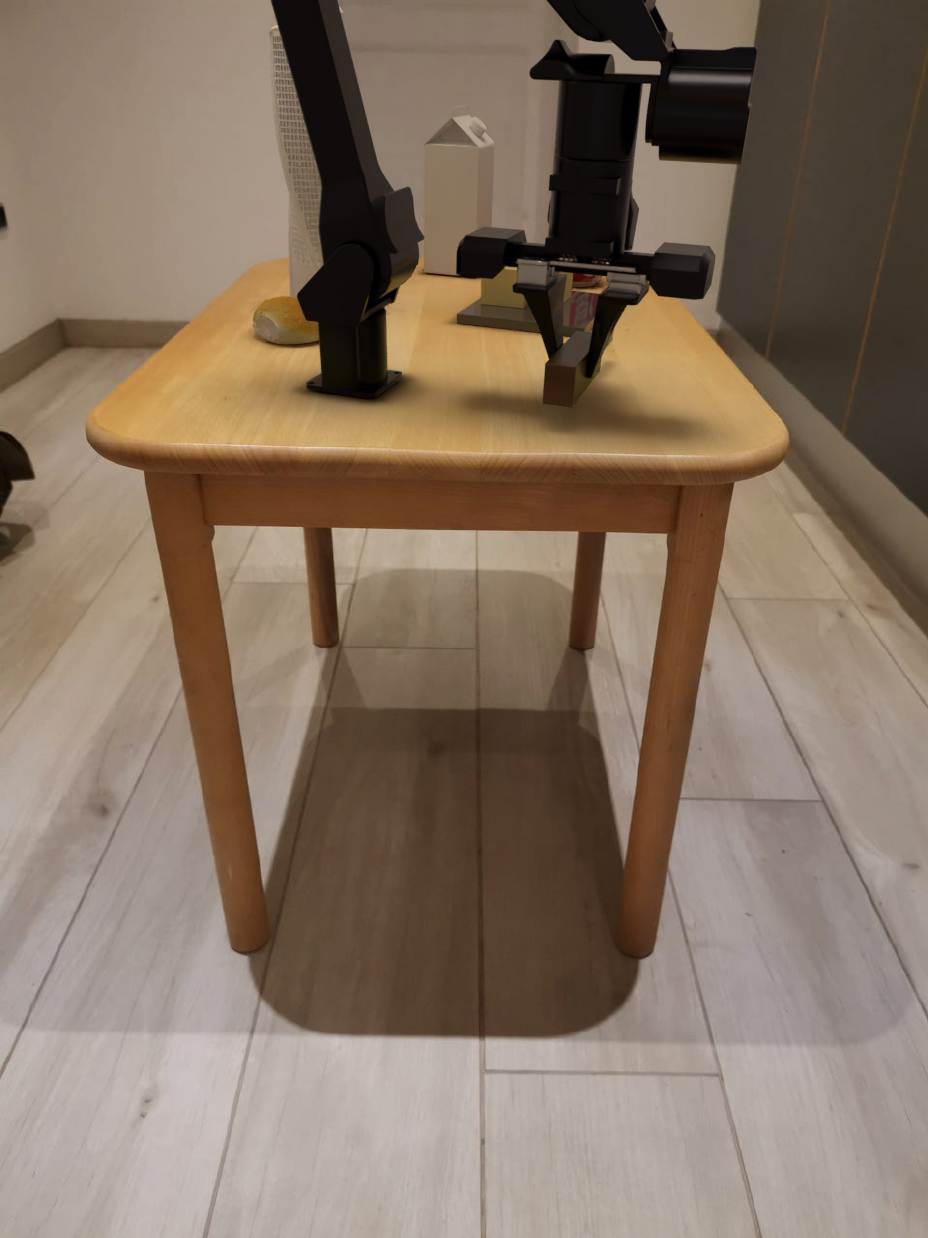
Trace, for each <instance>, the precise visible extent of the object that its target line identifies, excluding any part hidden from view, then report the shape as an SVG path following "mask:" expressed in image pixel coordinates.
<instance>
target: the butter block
mask: <svg viewBox="0 0 928 1238" xmlns="http://www.w3.org/2000/svg"><path fill="white" fill-rule="evenodd" d="M480 279H481V281H480V298H481V304H484V305H493V306H502V307H511V308H520V309H524V308H525V307H526V306H528V304H527V302H526V299H525V297H524V296H523V295H522V294H517V293H514V292H513V291H512V286H513V284H515V283H516V279H517V268H515V267H505V268H504V269H503V270H502V271H501V272H500V273H499V274H498V275H497V276H496V277H495V278H493V279H486V278H480Z"/></svg>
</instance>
